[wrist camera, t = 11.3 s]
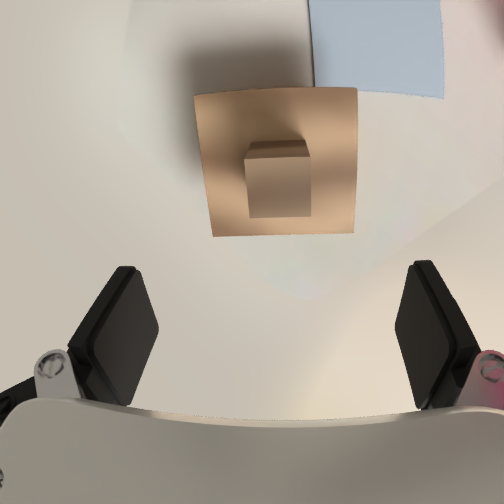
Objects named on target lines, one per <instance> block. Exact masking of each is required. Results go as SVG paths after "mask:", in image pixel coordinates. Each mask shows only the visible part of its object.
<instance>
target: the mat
mask: <svg viewBox="0 0 504 504" xmlns="http://www.w3.org/2000/svg"><path fill="white" fill-rule="evenodd" d="M309 10H310V21H311V33H312V45H313V59H314V75H315V87H354V88H357V91H372V92H386V93H398V94H409V95H418V96H426V97H434V98H441V99H444V48H443V31H442V19H441V9H440V0H309Z"/></svg>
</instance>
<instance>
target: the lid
mask: <svg viewBox="0 0 504 504" xmlns="http://www.w3.org/2000/svg"><path fill="white" fill-rule="evenodd" d="M193 97H194V106H195V114H196V122H197V129H198V137H199V145H200V152H201V159H202V167H203V174H204V181H205V188H206V195H207V201H208V208H209V215H210V221H211V228H212V234H213V237H218V236H219V237H220V236H253V235H291V234H337V233H354V220H355V204H356V184H357V152H358V98H357V88H354V87H281V88H262V89H247V90H235V91H225V92H216V93H207V94H199V95H195V96H193Z"/></svg>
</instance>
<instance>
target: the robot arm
mask: <svg viewBox="0 0 504 504" xmlns="http://www.w3.org/2000/svg"><path fill="white" fill-rule="evenodd" d="M158 331H159V327H158V323H157V320H156V317H155V314H154V311H153V308H152V305H151V303H150V300H149V297H148V294H147V291H146V288H145V285H144V281H143V278H142V275H141V273H140V271H138V270H136V268H135V267H134V266H119V267H118V268H117V269H116V271H115V272H114V274H113V275H112V276H111V278H110V279H109V281H108V282H107V284H106V285H105V287H104V288H103V290H102V291H101V293H100V294H99V296H98V297H97V299H96V300H95V302H94V303H93V305H92V306H91V308H90V310H89V311H88V313H87V314H86V316H85V317H84V319H83V320H82V322H81V324H80V325H79V327H78V328H77V330H76V332H75V333H74V335H73V336H72V338H71V340H70V341H69V343H68V345H67V346H68V347H69V349H68V351H67V352H65V351H63V350H60V349H59V350H51V351H48V352H47V353H45V354H43V355H42V356H41V357H40V358H39V359H38V361H37V363H36V364H35V367H34V376H33V377H31V378H29V379H27V380H25V381H23V382H21V383H19V384H17V385H15V386H13V387H11V388H9V389H7V390H5V391H3V392H2V393H0V504H504V355H503V354H501V353H500V352H497V351H494V350H486V351H481V349H480V348H479V345H478V343H477V341H476V339H475V337H474V335H473V333H472V331H471V329H470V327H469V325H468V323H467V321H466V319H465V317H464V315H463V313H462V312H461V310H460V308H459V306H458V304H457V302H456V300H455V299H454V298H453V297H452V295H451V293H450V291H449V289H448V288H447V286H446V284H445V282H444V281H443V279H442V277H441V276H440V274H439V272H438V271H437V269H436V267H435V266H434V264H433V262H432V261H431V260H420V261H415V262H414V264H413V265H410V266H409V268H408V273H407V277H406V282H405V286H404V290H403V295H402V299H401V303H400V307H399V311H398V314H397V318H396V322H395V332H396V336H397V339H398V342H399V346H400V349H401V353H402V356H403V359H404V363H405V366H406V370H407V374H408V378H409V381H410V385H411V389H412V393H413V397H414V401H415V405H416V407H417V408H418V409H421V411H415V412H407V413H399V414H390V415H380V416H370V417H359V418H345V419H327V420H246V419H227V418H213V417H202V416H191V415H182V414H173V413H165V412H158V411H151V410H144V409H138V408H132V407H126V406H127V405H130V404H131V402H132V399H133V397H134V394H135V391H136V388H137V386H138V383H139V381H140V378H141V376H142V373H143V370H144V368H145V365H146V363H147V360H148V358H149V355H150V352H151V350H152V348H153V345H154V342H155V340H156V338H157V335H158Z"/></svg>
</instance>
